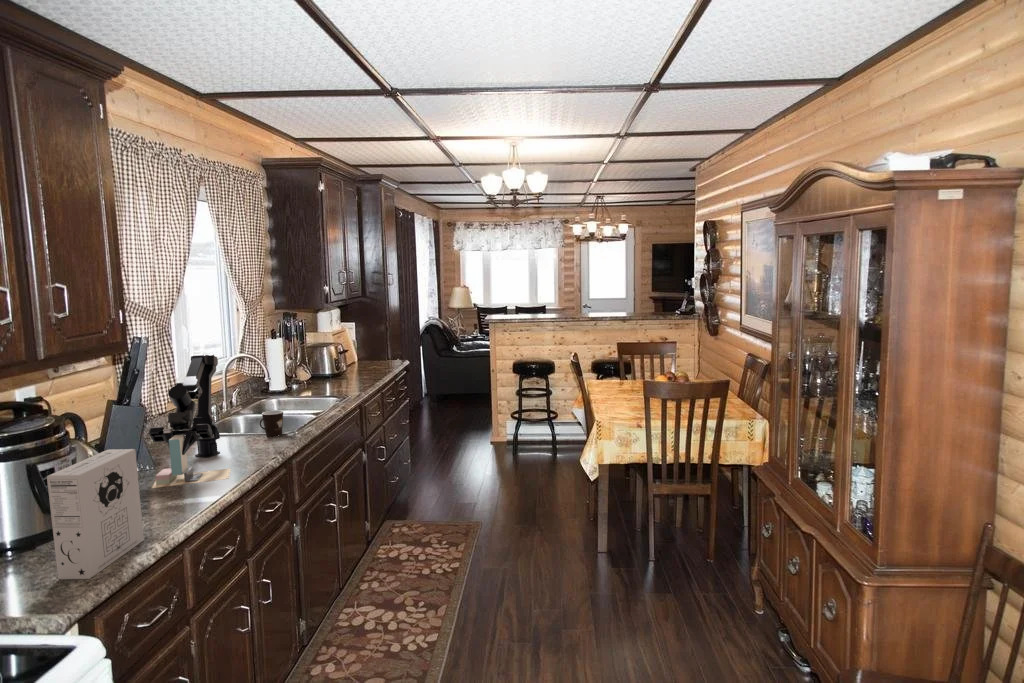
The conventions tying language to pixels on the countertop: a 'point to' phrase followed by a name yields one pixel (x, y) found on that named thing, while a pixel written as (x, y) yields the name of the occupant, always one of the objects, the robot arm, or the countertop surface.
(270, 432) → the coffee mug
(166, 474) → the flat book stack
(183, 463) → the boxed book
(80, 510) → the cereal box
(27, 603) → the countertop surface
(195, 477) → the metal bookend
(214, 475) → the shelf plank
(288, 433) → the countertop surface
